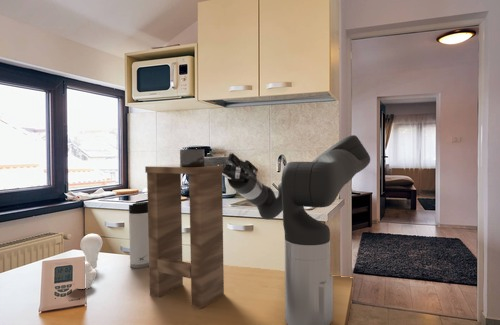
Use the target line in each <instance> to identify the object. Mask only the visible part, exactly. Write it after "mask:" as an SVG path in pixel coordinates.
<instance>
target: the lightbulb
mask: <svg viewBox="0 0 500 325" xmlns="http://www.w3.org/2000/svg"><path fill="white" fill-rule="evenodd" d="M103 243H104V242H103V239H102V237H101V236H100V235H99V234H97V233H88V234H86V235H85V236H83V238H82V239H81V240H80V243H79V244H80V246H79V247H80V249H81V251H82V253H83V254H84V256H85V262H89V263H90V264H91V267H92V268H93V269H96V268H97V267H98V266H97V265H98V260H99V259H98V258H99V254H100V251H101V250H102V246H103Z"/></svg>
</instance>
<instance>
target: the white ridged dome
mask: <svg viewBox="0 0 500 325" xmlns="http://www.w3.org/2000/svg"><path fill="white" fill-rule="evenodd" d="M84 262H85V274H86V289H85V290H88V288H89V289H90V288H91V287H92V286H93V284H94V281H95V279H96V276H97V271H96V270H95V269H96V268H95V269H93V268H92V267H91V264H90V263H89V262H87V261H84Z"/></svg>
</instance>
